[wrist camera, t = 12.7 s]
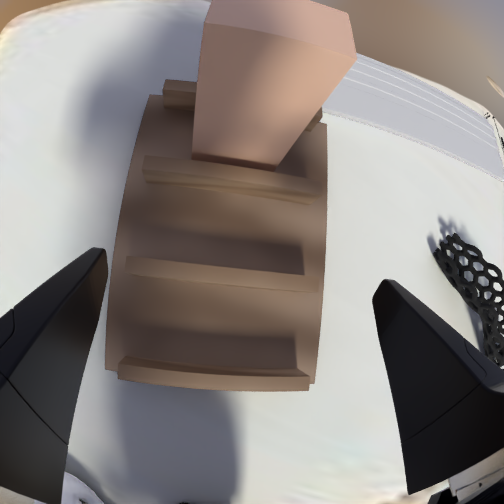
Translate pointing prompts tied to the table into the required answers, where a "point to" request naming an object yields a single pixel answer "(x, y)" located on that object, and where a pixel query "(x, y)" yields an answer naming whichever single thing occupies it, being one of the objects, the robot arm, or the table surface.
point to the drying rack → (217, 261)
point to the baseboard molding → (415, 114)
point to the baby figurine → (76, 492)
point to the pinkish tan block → (265, 77)
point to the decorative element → (471, 299)
